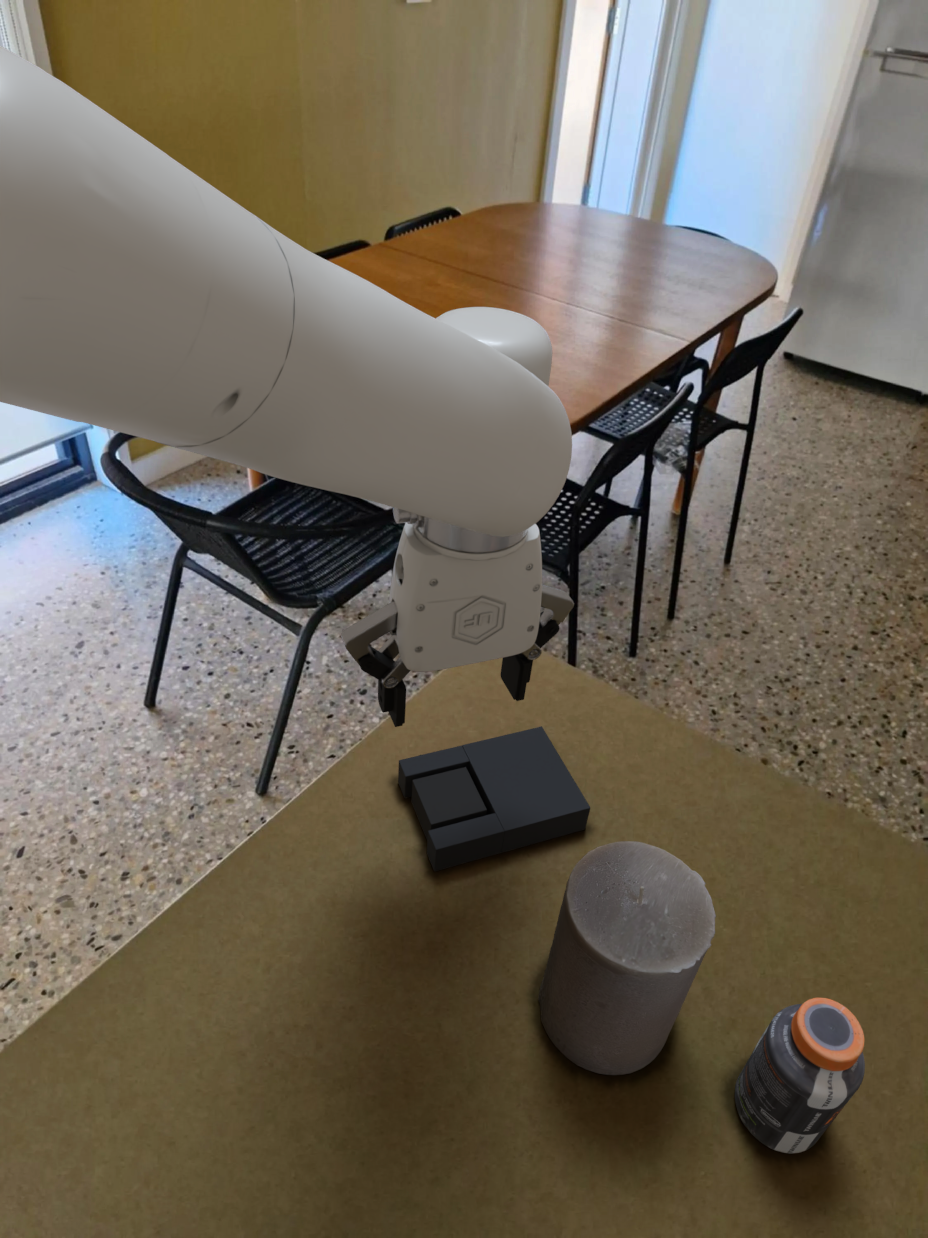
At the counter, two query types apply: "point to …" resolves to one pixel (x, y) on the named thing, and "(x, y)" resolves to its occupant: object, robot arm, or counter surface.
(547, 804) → the large pad
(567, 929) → the pillar candle
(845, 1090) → the pill bottle
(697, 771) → the counter surface
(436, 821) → the small pad
